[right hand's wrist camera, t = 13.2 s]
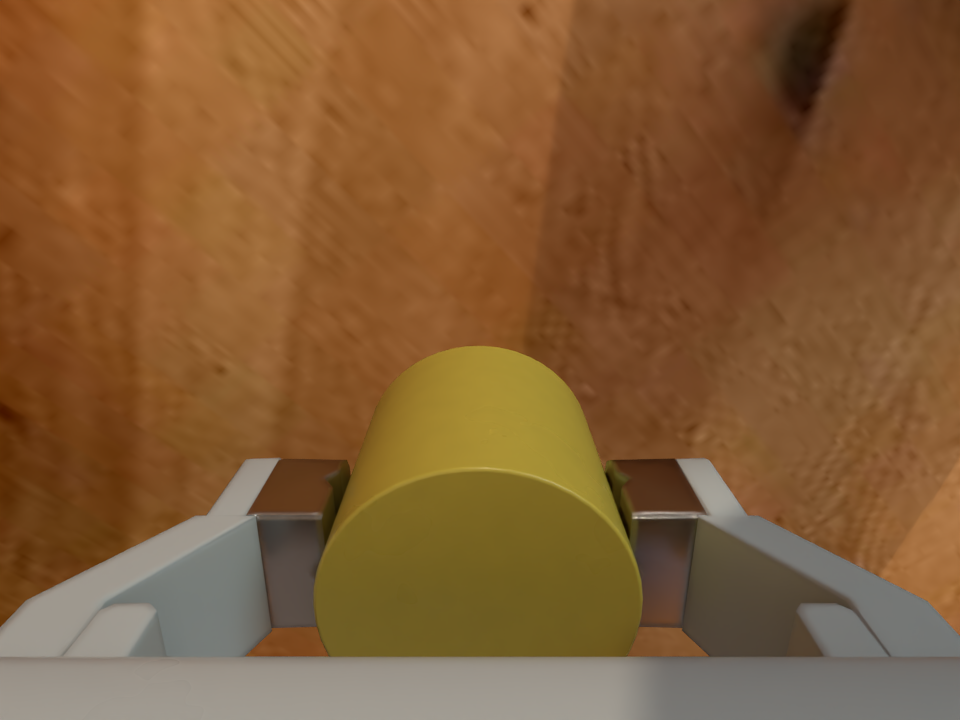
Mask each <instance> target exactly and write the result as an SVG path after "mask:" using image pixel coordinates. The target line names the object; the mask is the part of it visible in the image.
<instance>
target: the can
mask: <svg viewBox="0 0 960 720" xmlns="http://www.w3.org/2000/svg"><path fill="white" fill-rule="evenodd" d="M642 603H643V594H642V582H641V577H640V573H639V569H638V565H637V562H636V559H635V556H634V554H633V551H632V548H631V545H630V542H629V540H628V537H627V534H626V531H625V528H624V525H623V523H622V520H621V517H620V514H619V511H618V509H617V506H616V503H615V500H614V497H613V495H612V492H611V489H610V486H609V483H608V480H607V478H606V475H605V472H604V469H603V466H602V464H601V461H600V458H599V455H598V452H597V450H596V447H595V444H594V441H593V438H592V435H591V433H590V430H589V427H588V424H587V421H586V419H585V416H584V413H583V411H582V409H581V406H580V404H579V402H578V401H577V399H576V397H575V396H574V394H573V392H572V391H571V390H570V389H569V387H568V386H567V385H566V384H565V382H564V381H563V380H562V379H561V378H560V377H558V376H557V375H556V374H555V373H554V372H553V371H552V370H550V369H549V368H547V367H546V366H545V365H543V364H542V363H540V362H538V361H536V360H534V359H532V358H530V357H529V356H526V355H523V354H521V353H518V352H515V351H512V350H508V349H503V348H499V347H489V346H466V347H459V348H453V349H449V350H446V351H442V352H438V353H436V354H434V355H431V356H429V357H426V358H424V359H423V360H421V361H419V362H417V363H416V364H414V365H412V366H411V367H410V368H408V369H407V370H406V371H404V372H403V373H402V374H400V375H399V376H398V378H397V379H396V380H395V381H394V382H393V383H392V384H391V385H390V386H389V387H388V389H387V390H386V391H385V393H384V394H383V395H382V397H381V399H380V401H379V403H378V405H377V406H376V409H375V411H374V414H373V417H372V420H371V422H370V425H369V428H368V431H367V433H366V436H365V439H364V442H363V444H362V447H361V450H360V453H359V455H358V458H357V461H356V464H355V466H354V469H353V472H352V474H351V477H350V480H349V483H348V485H347V488H346V491H345V494H344V496H343V499H342V502H341V505H340V507H339V510H338V513H337V516H336V518H335V521H334V524H333V527H332V529H331V532H330V535H329V538H328V540H327V543H326V546H325V549H324V551H323V554H322V557H321V560H320V562H319V565H318V568H317V572H316V577H315V582H314V590H313V607H314V614H315V621H316V625H317V628H318V632H319V635H320V638H321V641H322V643H323V645H324V647H325V649H326V651H327V653H328V655H329V657H627V655H628V653H629V652H630V650H631V647H632V645H633V642H634V640H635V638H636V635H637V632H638V628H639V624H640V620H641V615H642Z"/></svg>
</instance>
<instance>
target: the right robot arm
mask: <svg viewBox="0 0 960 720" xmlns="http://www.w3.org/2000/svg"><path fill="white" fill-rule="evenodd" d="M605 475H606V478H607V480H608V483H609V486H610V489H611V492H612V495H613V497H614V500H615V503H616V506H617V509H618V511H619V514H620V517H621V520H622V523H623V525H624V528H625V531H626V534H627V537H628V540H629V542H630V545H631V548H632V551H633V554H634V556H635V559H636V562H637V565H638V569H639V573H640V577H641V582H642V594H643V603H642V615H641V620H640V624H639V627H671V628H683V629H682V631H683V632H684V633H686V634H687V635H688V636H689V637H690V638H691V639H692V640H693V641H694V642H695V643H696V644H697V645H698V646H699V647H700V648H702V649H703V650H704V651H705V652H706V653H707V654H708V655H709V656H710V657H244V656H245V655H246V654H248V653H249V652H250V651H251V650H252V649H253V648H254V647H255V646H256V645H257V644H258V643H259V642H261V641H262V640H263V639H264V638H265V637H266V636H267V635H268V634H269V633H270V632H271V631H272V629H271V628H283V627H317V625H316V621H315V614H314V607H313V590H314V582H315V577H316V572H317V568H318V565H319V562H320V560H321V557H322V554H323V551H324V549H325V546H326V543H327V540H328V538H329V535H330V532H331V529H332V527H333V524H334V521H335V518H336V516H337V513H338V510H339V507H340V505H341V502H342V499H343V496H344V494H345V491H346V488H347V485H348V483H349V480H350V477H351V475H350V467H349V464H348V462H347V460H327V459H281V458H260V459H247V460H245V461H244V462H243V464H242V465H241V467H240V468H239V469H238V471H237V472H236V474H235V475H234V477H233V478H232V479H231V481H230V482H229V484H228V485H227V487H226V488H225V489H224V491H223V492H222V494H221V495H220V497H219V498H218V499H217V501H216V502H215V504H214V505H213V507H212V508H211V509H210V511H209V512H208V514H207V515H206V516H194V517H192V518H190V519H188V520H186V521H184V522H182V523H180V524H178V525H176V526H174V527H172V528H170V529H168V530H166V531H164V532H162V533H160V534H158V535H156V536H154V537H152V538H150V539H148V540H146V541H144V542H142V543H140V544H138V545H136V546H134V547H132V548H130V549H128V550H126V551H124V552H122V553H120V554H118V555H116V556H114V557H112V558H110V559H108V560H106V561H104V562H102V563H100V564H98V565H96V566H94V567H92V568H90V569H88V570H86V571H84V572H82V573H80V574H78V575H76V576H74V577H72V578H70V579H68V580H66V581H64V582H62V583H60V584H58V585H56V586H54V587H52V588H50V589H48V590H46V591H44V592H42V593H40V594H38V595H36V596H34V597H32V598H30V599H28V600H26V601H25V602H24V603H23V604H22V605H21V606H20V607H19V608H18V610H17V611H16V612H15V613H14V614H13V615H12V616H11V617H10V618H9V619H8V620H7V621H6V622H5V623H4V624H3V625H2V626H1V627H0V720H960V636H959V635H958V634H957V633H956V631H955V630H954V629H953V628H952V627H951V626H950V625H949V624H948V623H947V622H946V621H945V620H944V619H943V618H942V616H941V615H940V614H939V613H938V612H937V611H936V610H935V609H934V608H933V607H932V606H931V605H930V604H929V602H928V601H926V600H924V599H922V598H920V597H918V596H916V595H914V594H912V593H910V592H908V591H906V590H904V589H902V588H900V587H898V586H896V585H894V584H892V583H890V582H888V581H886V580H884V579H882V578H880V577H878V576H876V575H874V574H872V573H870V572H868V571H866V570H864V569H862V568H861V567H859V566H857V565H855V564H853V563H851V562H849V561H847V560H845V559H843V558H841V557H839V556H837V555H835V554H833V553H831V552H829V551H827V550H825V549H823V548H821V547H819V546H817V545H815V544H813V543H811V542H809V541H807V540H805V539H803V538H801V537H799V536H797V535H795V534H793V533H791V532H789V531H787V530H785V529H783V528H781V527H779V526H777V525H775V524H773V523H772V522H770V521H768V520H766V519H764V518H762V517H760V516H748V515H747V514H746V512H745V511H744V509H743V508H742V507H741V505H740V504H739V502H738V501H737V499H736V498H735V497H734V495H733V494H732V492H731V491H730V489H729V488H728V486H727V485H726V484H725V482H724V481H723V479H722V478H721V476H720V475H719V473H718V472H717V471H716V469H715V468H714V466H713V465H712V463H711V462H710V461H709V460H708V459H705V458H689V459H637V460H610V461H607V463H606V468H605Z"/></svg>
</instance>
